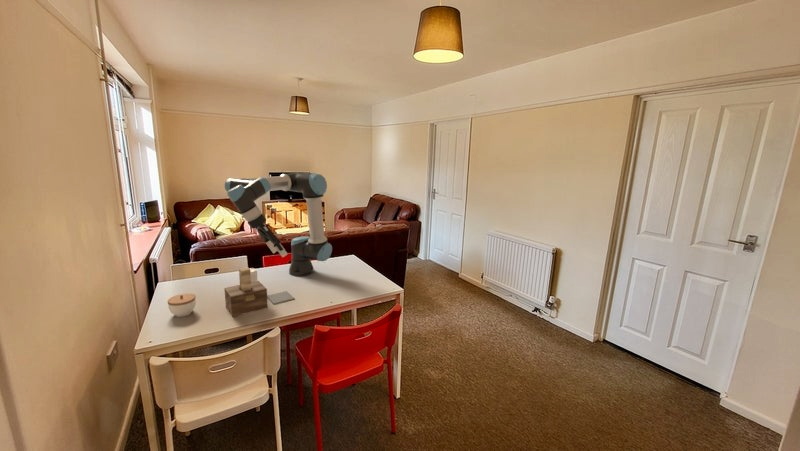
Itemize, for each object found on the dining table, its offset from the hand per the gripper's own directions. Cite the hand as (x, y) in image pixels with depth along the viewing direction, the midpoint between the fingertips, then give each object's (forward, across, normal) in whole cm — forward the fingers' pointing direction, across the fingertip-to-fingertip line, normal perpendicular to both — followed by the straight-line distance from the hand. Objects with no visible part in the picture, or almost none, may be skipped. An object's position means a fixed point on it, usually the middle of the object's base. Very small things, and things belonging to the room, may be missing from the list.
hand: (280, 253), depth 156 cm
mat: (+24, -13, -11) cm, 29 cm away
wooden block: (+11, -11, -23) cm, 27 cm away
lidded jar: (+3, -20, -47) cm, 52 cm away
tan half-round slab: (+17, -30, -19) cm, 40 cm away
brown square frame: (+16, -11, -26) cm, 32 cm away
